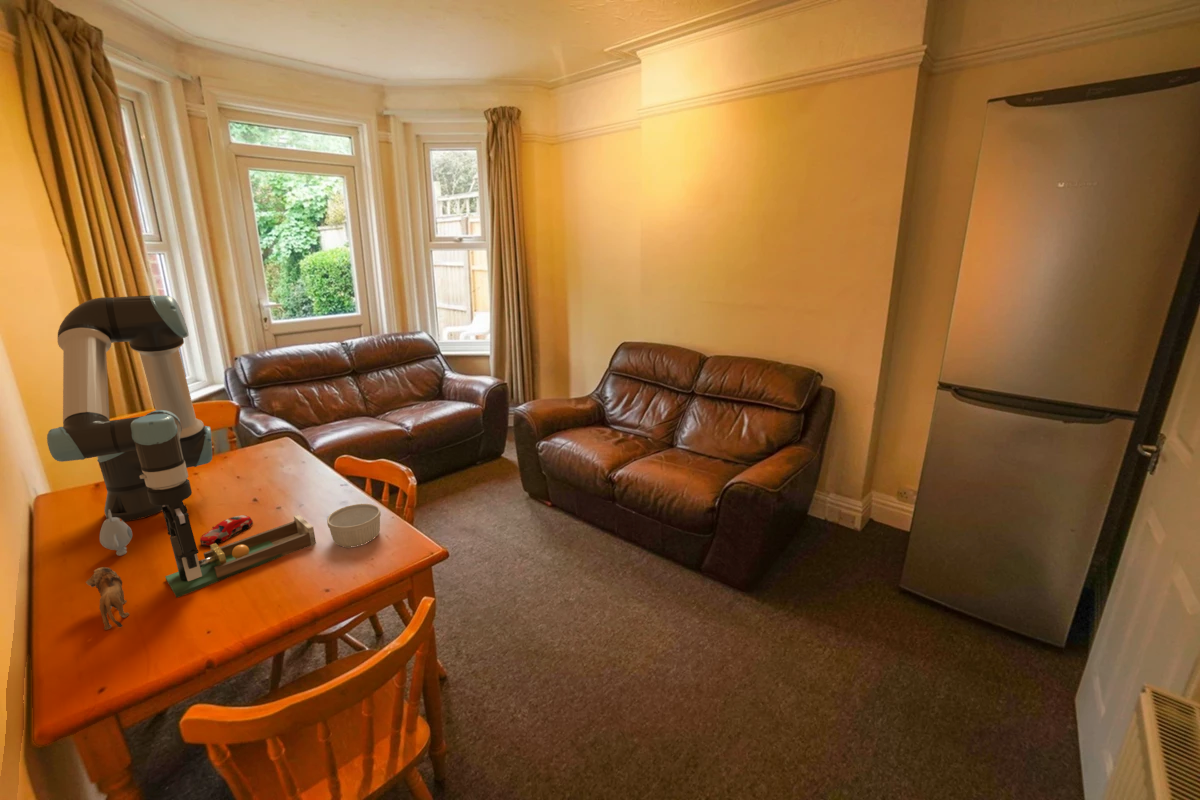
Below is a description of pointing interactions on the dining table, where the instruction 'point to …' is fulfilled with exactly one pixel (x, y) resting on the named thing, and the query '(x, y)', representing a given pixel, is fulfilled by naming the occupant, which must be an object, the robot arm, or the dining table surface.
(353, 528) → the ramekin
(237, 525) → the race car
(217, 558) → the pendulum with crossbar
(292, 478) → the dining table surface
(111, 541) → the toy figure
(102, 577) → the lion figurine
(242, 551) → the ball
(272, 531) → the lane
